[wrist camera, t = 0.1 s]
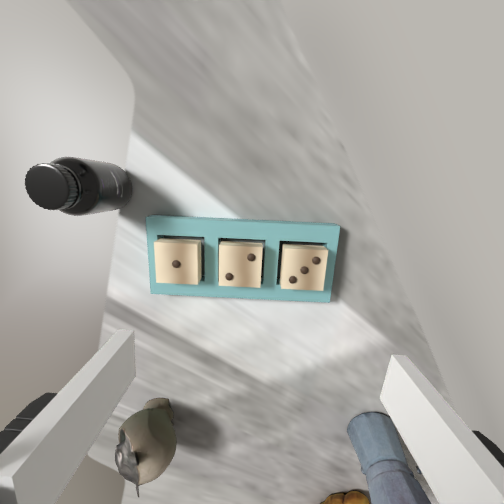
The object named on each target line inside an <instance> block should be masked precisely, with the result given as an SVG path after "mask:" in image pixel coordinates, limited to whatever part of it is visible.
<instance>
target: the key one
mask: <svg viewBox="0 0 504 504" xmlns="http://www.w3.org/2000/svg"><path fill="white" fill-rule="evenodd" d="M154 253H155V270H156V283H174V284H194V285H198V283H199V282H200V280H201V240H188V239H167V238H160V239H158V240H157V241H155V242H154Z"/></svg>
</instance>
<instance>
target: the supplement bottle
mask: <svg viewBox="0 0 504 504" xmlns="http://www.w3.org/2000/svg"><path fill="white" fill-rule="evenodd" d="M25 186H26V190H27V193H28V194H29V197H30V198H31V199H32V201H33V202H35V203H36V204H37V205H39V206H40V207H43V208H44V209H48V210H60V211H61V212H63V213H66V214H69V215H74V216H80V215H88V214H94V213H100V212H106V211H112V210H116V209H120V208H122V207H123V206H125V205H126V204H127V203H128V201H129V200H130V198H131V195H132V185H131V181H130V179H129V177H128V175H127V174H126V173H125V171H124V170H122V169H121V168H120V167H118V166H116V165H114V164H111V163H106V162H100V161H94V160H87V159H81V158H74V157H62V158H58V159H56V160H54V161H52V162H51V163H50V164H44V163H42V164H37V165H36V166H33V167H32V168H30V170H29V171H28V172H27V174H26V178H25Z"/></svg>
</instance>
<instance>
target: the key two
mask: <svg viewBox="0 0 504 504" xmlns="http://www.w3.org/2000/svg"><path fill="white" fill-rule="evenodd" d="M262 249H263V246H262V243H251V242H230V241H221V243H220V244H219V286H235V287H255V288H260V285H261V267H262Z"/></svg>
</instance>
